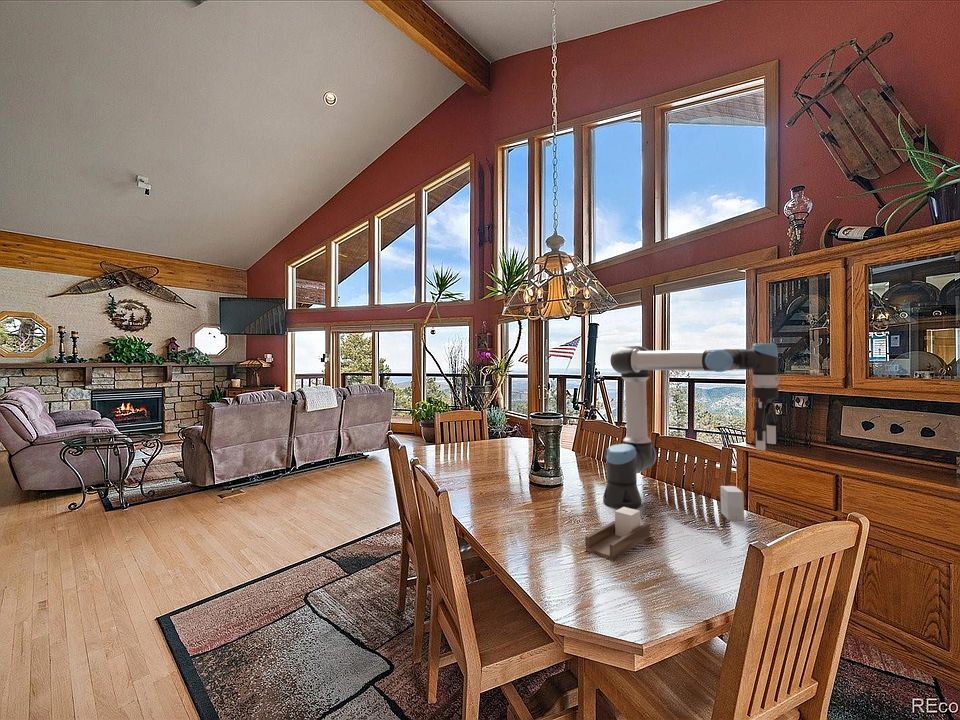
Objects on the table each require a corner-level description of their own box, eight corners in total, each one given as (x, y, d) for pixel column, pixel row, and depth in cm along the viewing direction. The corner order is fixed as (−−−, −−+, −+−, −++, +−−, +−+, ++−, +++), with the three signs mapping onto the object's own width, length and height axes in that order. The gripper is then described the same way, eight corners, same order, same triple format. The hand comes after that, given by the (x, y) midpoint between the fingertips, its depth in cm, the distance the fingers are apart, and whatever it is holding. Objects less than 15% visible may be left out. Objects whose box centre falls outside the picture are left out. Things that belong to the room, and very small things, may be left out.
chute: (585, 550, 143) (585, 536, 143) (623, 528, 159) (623, 516, 159) (613, 560, 136) (613, 545, 136) (650, 536, 152) (649, 523, 152)
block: (615, 534, 152) (614, 511, 152) (624, 529, 156) (623, 506, 156) (631, 539, 147) (631, 515, 147) (640, 534, 151) (640, 510, 151)
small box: (744, 521, 163) (744, 492, 163) (727, 520, 165) (727, 491, 164) (736, 513, 171) (736, 485, 171) (720, 512, 172) (720, 485, 172)
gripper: (768, 389, 147) (768, 454, 148) (786, 384, 164) (787, 442, 165) (742, 388, 153) (743, 451, 153) (763, 384, 170) (763, 439, 170)
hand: (766, 446), depth 159 cm, fingers open, 13 cm apart
